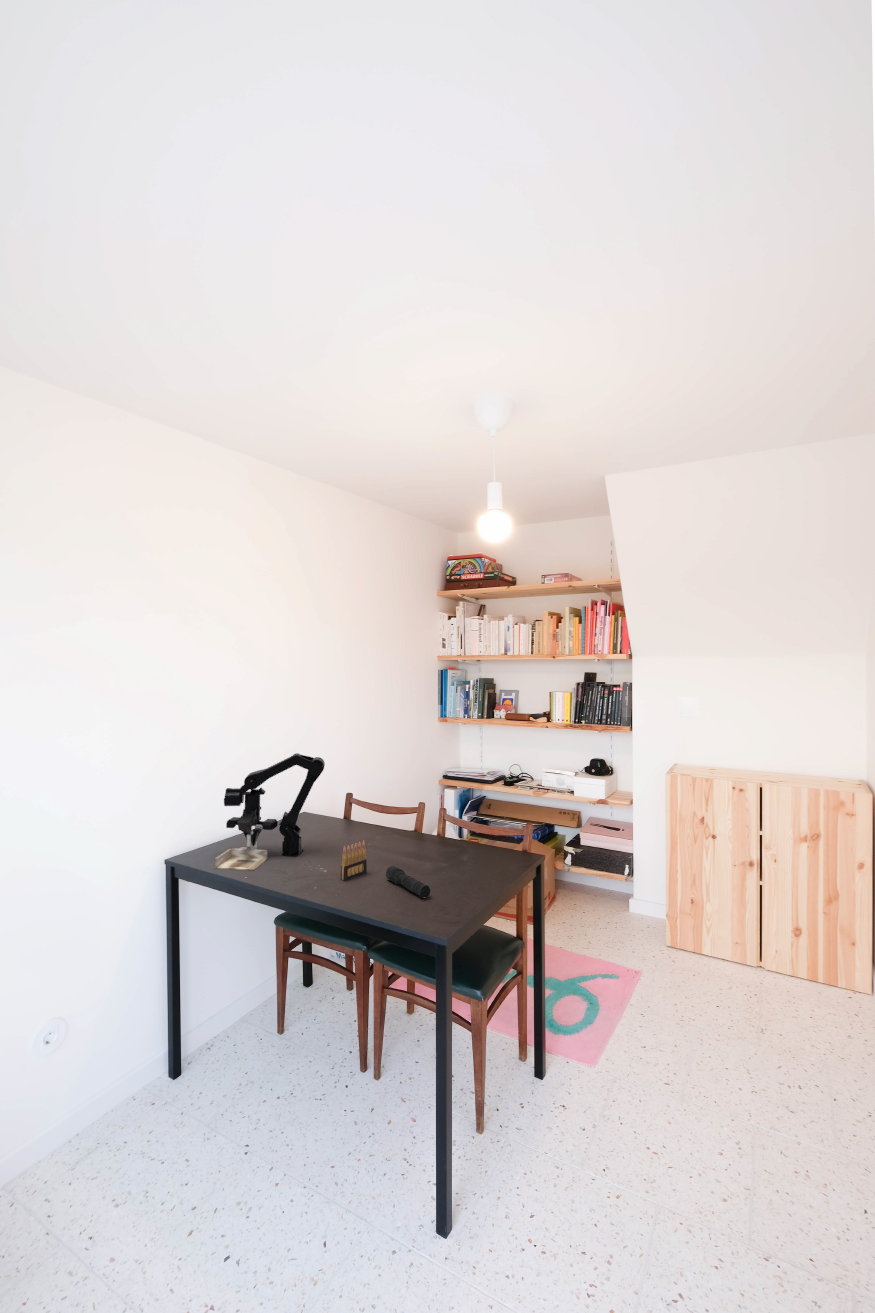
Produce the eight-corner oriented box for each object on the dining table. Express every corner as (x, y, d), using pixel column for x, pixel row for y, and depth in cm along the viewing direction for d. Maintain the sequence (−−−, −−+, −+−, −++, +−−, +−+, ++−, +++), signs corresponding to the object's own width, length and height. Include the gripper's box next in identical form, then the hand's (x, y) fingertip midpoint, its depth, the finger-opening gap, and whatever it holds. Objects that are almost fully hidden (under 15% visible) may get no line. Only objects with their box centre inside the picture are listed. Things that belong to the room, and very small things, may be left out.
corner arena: (267, 859, 224) (267, 850, 224) (254, 870, 212) (254, 861, 212) (229, 857, 225) (230, 848, 225) (214, 868, 214) (214, 858, 214)
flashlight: (397, 878, 208) (397, 864, 208) (431, 898, 191) (431, 882, 191) (385, 881, 205) (385, 867, 205) (418, 901, 188) (419, 886, 188)
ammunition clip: (343, 881, 203) (344, 847, 203) (340, 880, 204) (340, 845, 204) (366, 873, 211) (367, 840, 211) (363, 872, 212) (363, 839, 212)
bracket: (256, 850, 232) (257, 830, 232) (250, 856, 226) (250, 835, 226) (241, 850, 232) (241, 829, 232) (234, 855, 226) (234, 834, 226)
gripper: (219, 809, 222) (219, 851, 222) (267, 812, 220) (266, 853, 220) (233, 802, 233) (232, 841, 233) (278, 804, 231) (277, 844, 231)
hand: (251, 845), depth 229 cm, fingers closed on bracket
